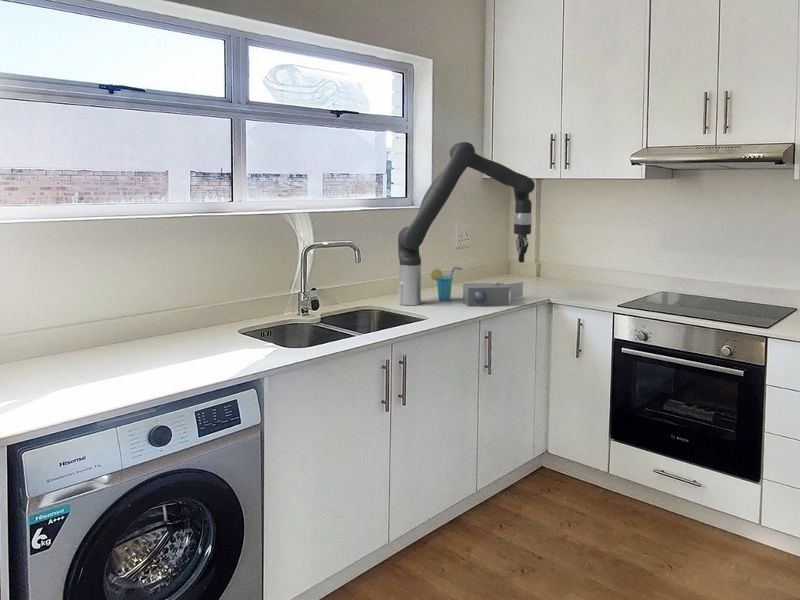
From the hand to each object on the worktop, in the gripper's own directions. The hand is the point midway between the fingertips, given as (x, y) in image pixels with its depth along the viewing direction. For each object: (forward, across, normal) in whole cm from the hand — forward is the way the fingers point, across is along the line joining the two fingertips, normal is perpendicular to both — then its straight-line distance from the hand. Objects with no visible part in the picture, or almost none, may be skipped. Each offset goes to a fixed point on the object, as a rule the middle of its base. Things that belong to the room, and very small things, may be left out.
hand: (521, 262), depth 306 cm
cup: (+17, -1, -33) cm, 38 cm away
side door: (+17, -1, -3) cm, 17 cm away
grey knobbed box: (+17, +8, -17) cm, 26 cm away
